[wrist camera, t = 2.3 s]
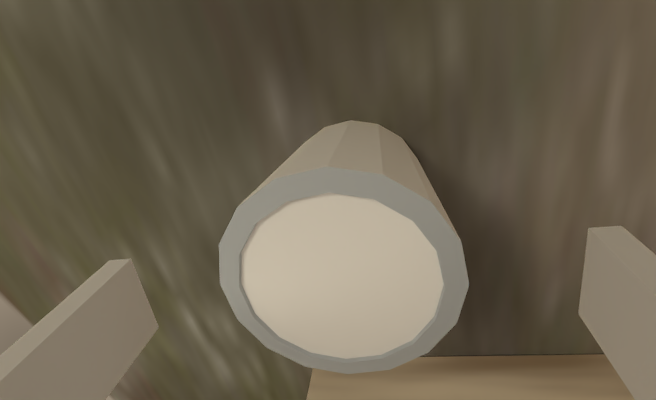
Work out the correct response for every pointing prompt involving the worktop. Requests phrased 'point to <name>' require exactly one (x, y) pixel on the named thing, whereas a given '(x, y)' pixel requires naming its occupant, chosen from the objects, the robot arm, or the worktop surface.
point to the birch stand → (478, 380)
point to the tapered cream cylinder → (345, 255)
